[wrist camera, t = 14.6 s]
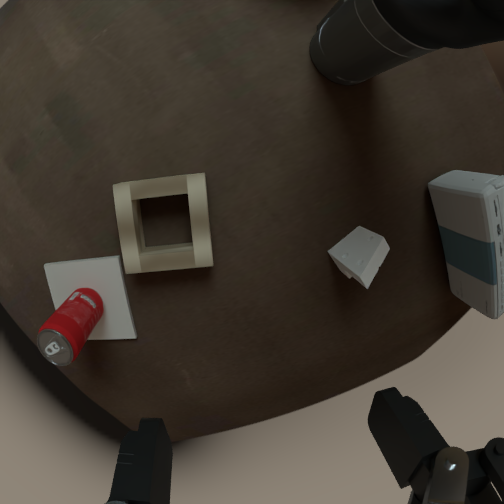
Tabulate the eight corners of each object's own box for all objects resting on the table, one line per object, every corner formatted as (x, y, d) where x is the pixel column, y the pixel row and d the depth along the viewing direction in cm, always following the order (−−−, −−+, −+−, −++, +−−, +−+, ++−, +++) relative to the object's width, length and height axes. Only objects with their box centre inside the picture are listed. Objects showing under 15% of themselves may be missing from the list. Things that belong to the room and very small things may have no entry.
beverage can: (113, 308, 38) (84, 358, 27) (88, 324, 38) (56, 373, 27) (90, 278, 37) (52, 319, 25) (66, 295, 37) (27, 338, 25)
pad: (46, 263, 36) (43, 265, 35) (119, 255, 37) (117, 257, 37) (67, 337, 39) (65, 339, 39) (137, 335, 41) (136, 338, 40)
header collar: (122, 182, 35) (112, 184, 31) (205, 172, 36) (204, 173, 32) (133, 263, 38) (125, 274, 34) (212, 255, 39) (213, 265, 35)
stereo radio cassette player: (419, 183, 40) (525, 204, 21) (453, 164, 40) (552, 177, 21) (445, 293, 46) (523, 345, 27) (474, 270, 46) (551, 312, 27)
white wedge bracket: (307, 278, 39) (359, 277, 31) (343, 228, 43) (393, 219, 35) (321, 297, 40) (373, 300, 32) (355, 247, 44) (404, 241, 37)
